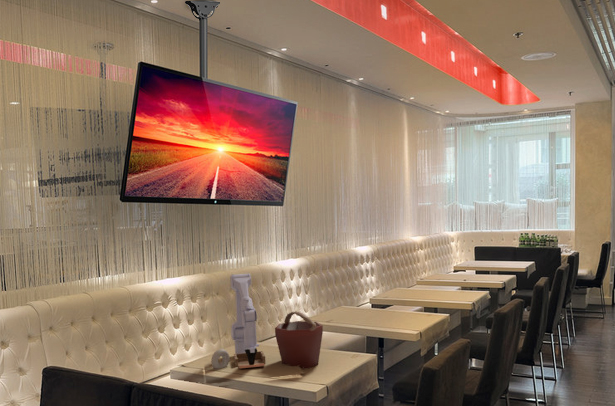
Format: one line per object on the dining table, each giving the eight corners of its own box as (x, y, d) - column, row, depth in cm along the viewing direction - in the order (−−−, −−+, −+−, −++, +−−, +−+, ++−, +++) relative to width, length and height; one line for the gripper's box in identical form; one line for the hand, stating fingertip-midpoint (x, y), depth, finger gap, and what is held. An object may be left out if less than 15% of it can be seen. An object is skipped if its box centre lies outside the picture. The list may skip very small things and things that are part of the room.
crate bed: (234, 364, 287) (233, 353, 287) (262, 361, 289) (262, 351, 290) (236, 369, 276) (235, 359, 276) (265, 366, 279) (265, 356, 279)
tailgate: (238, 365, 276) (239, 366, 269) (263, 363, 278) (265, 363, 272) (238, 368, 276) (239, 368, 269) (263, 365, 278) (265, 365, 271)
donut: (214, 373, 272) (213, 351, 272) (210, 372, 274) (209, 351, 274) (231, 368, 279) (230, 347, 279) (226, 367, 281) (225, 346, 281)
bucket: (329, 368, 271) (326, 314, 272) (283, 374, 265) (280, 318, 265) (314, 356, 295) (311, 306, 295) (271, 361, 289) (268, 310, 289)
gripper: (260, 338, 267) (262, 367, 267) (257, 332, 281) (258, 360, 281) (245, 339, 266) (246, 369, 265) (242, 333, 280) (243, 362, 280)
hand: (251, 365), depth 273 cm, fingers closed, pressing on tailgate
